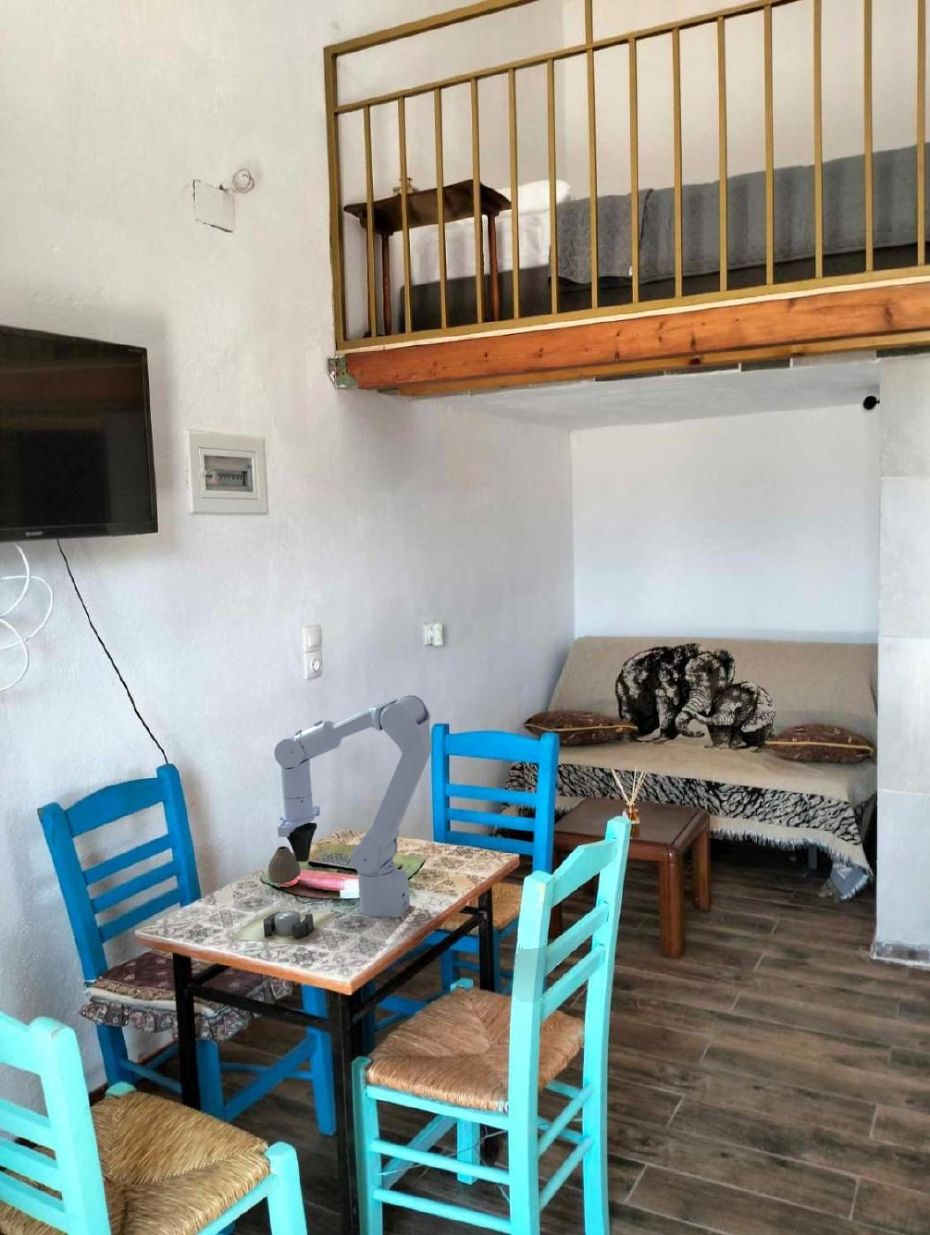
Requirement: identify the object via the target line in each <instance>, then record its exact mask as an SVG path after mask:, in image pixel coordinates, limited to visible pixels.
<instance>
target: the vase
mask: <svg viewBox="0 0 930 1235" xmlns="http://www.w3.org/2000/svg"><path fill="white" fill-rule="evenodd" d="M300 873H301V874H302V871H301V864H300V862H297V860H296V858H295V855H294V852H292V851H291V850H290V848H289V846H287V845H282V846H278V847H277V848H276V850H275V853H274V855H273V856H272V858H271V859H270V861H269V864H268V868H267V875H268V880H269V882H270V881H271V882H273V883H279V884H283V883H286V882H290V881H292V880H294V879H295V878H296V877H297V876H299V875H300ZM300 876H301V875H300ZM271 882H270V883H271Z"/></svg>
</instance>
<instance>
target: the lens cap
mask: <svg viewBox="0 0 930 1235" xmlns="http://www.w3.org/2000/svg"><path fill="white" fill-rule="evenodd" d="M283 911H284V912H281V913H278V914H277V915H275V931H276V934H277V935H279V936H292V935H293V925H295V924H298V923H300V922H301V918H300V913H299V912H300V911H296V910H283Z"/></svg>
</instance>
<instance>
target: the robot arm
mask: <svg viewBox="0 0 930 1235" xmlns="http://www.w3.org/2000/svg"><path fill="white" fill-rule="evenodd" d="M430 722H431V713H430V711H429V709H428V707H427V705H426V703H425V702H424V700H422V699H421V698H420V697H419V696H417V695H415V694H414V695H413V694H408V695H406V696H403V697H402V698H400V699H398V698H396V699H392V700H388V701H384V702H382V703H378V704H376V705H374V706H371V707H369V708H368V709H365V710H363V711H361V712H359V713H357V714H354V715H351V716H350V717H348V718H346V719H344V720H342V721H340V722H337V723H335V722H334V721H330V720H325V721H323V720H322V719H320V720H318V721H316V722H314V723H313V725H314V726H312V727H310V728H307V729H305V730H302V729H299V730H297V731H295V732H294V734H293V735H291V736H289V737H287V738H283V739H282V740H280V741H279V742H277V744H276V745H275V747H274V752H273V753H274V758H275V761H276V762H277V763H278V765H279V766H280V775H281V776H280V777H281V786H282V787H281V789H282V796H283V797H282V798H283V809H284V811H283V812H284V814H282V815H280V816H279V820H280V821H281V824H280V825H279V826H277V836H278V837H279V838H286V839H287V840H288V842H289V845H290V847H291V849H292V851H293V852H292V853H293V854H294V855H295V858H296V860H297V862H299V863H300V862H301V863H306V862H308V861H309V859H310V855H311V848H312V847H311V846H312V841H313V838H314V835H315V833H316V830H317V828H318V824H317V823H316V822H313V821H314V820H315V819H316V817H319V816H320V815H321V808H320V806H319V805H313V803H314V802H313V794H312V793H313V792H312V781H311V780H312V779H311V764H310V762H311V759H312V760H313V759H314V758H317V757H318V756H321V755H323V754H326V753H328V752H330V751H333V750H335V749H337V748H339V747H340V745H341V743H342V740H343V739H344V738H346V737H349V736H351V735H354V734H356V733H359V732H361V731H364V730H368V729H369V728H372V729H375V731H378V732H381V731H384V732H385V733H386V735H387V736H389V738H390V739H391V740H392V741H393V743H395V744H396V745H397V747H398V748H399V751H400V752H401V756H400V758H399V760H398V763H397V766H396V767H395V770H394V772H393V775H392V778H391V780H390V782H389V784H388V786H387V788H386V791H385V794H384V796H383V797H382V801H381V803H380V804H379V807H378V811H377V813H376V815H375V818H374V820H373V822H372V823H371V824H370V826H369V827H368V829H367V831H366V832H365V834H364V835H363V838H362V840H361V842H359V843H358V844H357V845H356V846H354V847H353V849H352V850H351V854H350V861H351V864H352V866H353V868H354V869H355V870H356V871H357V879H358V881H357V882H358V892H359V893H358V894H359V905H360V906H359V907H360V908H359V909H360V913H361V914H362V915H364V916H367V917H375V918H377V917H378V918H379V917H391V918H401V916H402V915H403V914H404V912H405V911H406V910H407V909H408V908H409V907H411V902H410V901H411V900H410V887H409V876H408V873H407V871H405V870H403V869H402V870H401V869H398V868H396V867H395V864H394V863H395V862H394V857H395V855H396V853H397V851H398V847H399V846H398V838H399V836H400V834H401V832H400V830H399V828H400V826H401V823H402V821H403V818H404V816H405V815H406V814H405V813H406V812H407V809H408V808H409V807H408V806H409V805H410V802H411V799H412V797H413V796H414V793H415V792H416V788H417V786H418V784H419V782H420V779H421V777H422V774H423V772H424V770H425V768H426V765H427V764H428V761H429V759H430V756H431V753H432V749H433V748H432V740H431V739H432V738H431V727H430Z"/></svg>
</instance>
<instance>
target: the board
mask: <svg viewBox="0 0 930 1235" xmlns="http://www.w3.org/2000/svg"><path fill="white" fill-rule="evenodd" d="M284 911H285V910H277V909H264V910H263V911H262V912H260V913H259V915H257V916H256V917H254V918H253V919H252V920H250V921H249V922H248V923H247V924H245V925H244V926H243V927H242V928H241V929H239V930H237V932H235V933H234V934H233V935H232V936H230V937H229V938H228V939H229V940H239V941H240V940H242V941H253V942H263V943H265V942H266V943H274V944H276V943H277V944H289V945H299V946H301V945H302V946H306V945H307V944H309V943H310V942H311V941H312V940H313V939H314V938H315V937H316V936H317V935H319V933H320V932H322V931H323V929H325V928H326V927H327V926H328V925H329V924H330V923H331V922H333V920H334V919H336V918H337V917H338V916H339V914H334V913H332V914H331V913H320V912H319V913H318V912H308V911H307V912H305V911H298V912H299V913H300V918H301V922H302V921H303V920H304V919H305V915H307V914H312V915H313V925H314V930H313V932H312V933H311V934H309V935H307V936H306V937H304V938H301V939H298V940H297V939H295V938H294V937H293V935H292V936H279V935H277V934H276V931H275V930H274V931H273V932H272V936H269V937H265V936H264V924H263V921H264V919H265V918H267V917H268V916H269V915H271V914H274V913H277V912H284Z"/></svg>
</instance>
